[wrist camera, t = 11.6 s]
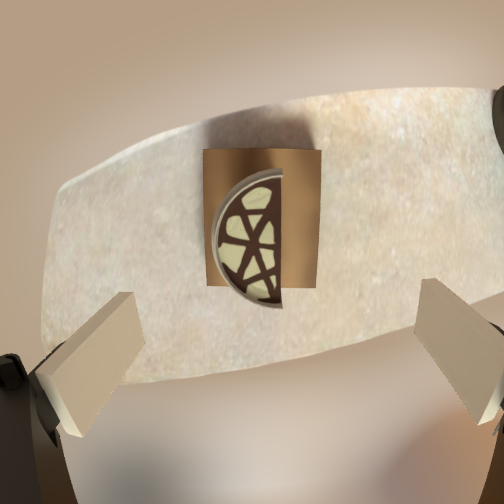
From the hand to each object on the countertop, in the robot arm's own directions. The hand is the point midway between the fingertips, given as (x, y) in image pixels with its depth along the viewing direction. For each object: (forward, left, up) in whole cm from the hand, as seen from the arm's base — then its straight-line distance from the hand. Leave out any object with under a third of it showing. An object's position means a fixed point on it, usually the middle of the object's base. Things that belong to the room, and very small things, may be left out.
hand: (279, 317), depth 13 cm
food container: (+3, 0, -22) cm, 23 cm away
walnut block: (+1, 0, -27) cm, 27 cm away
